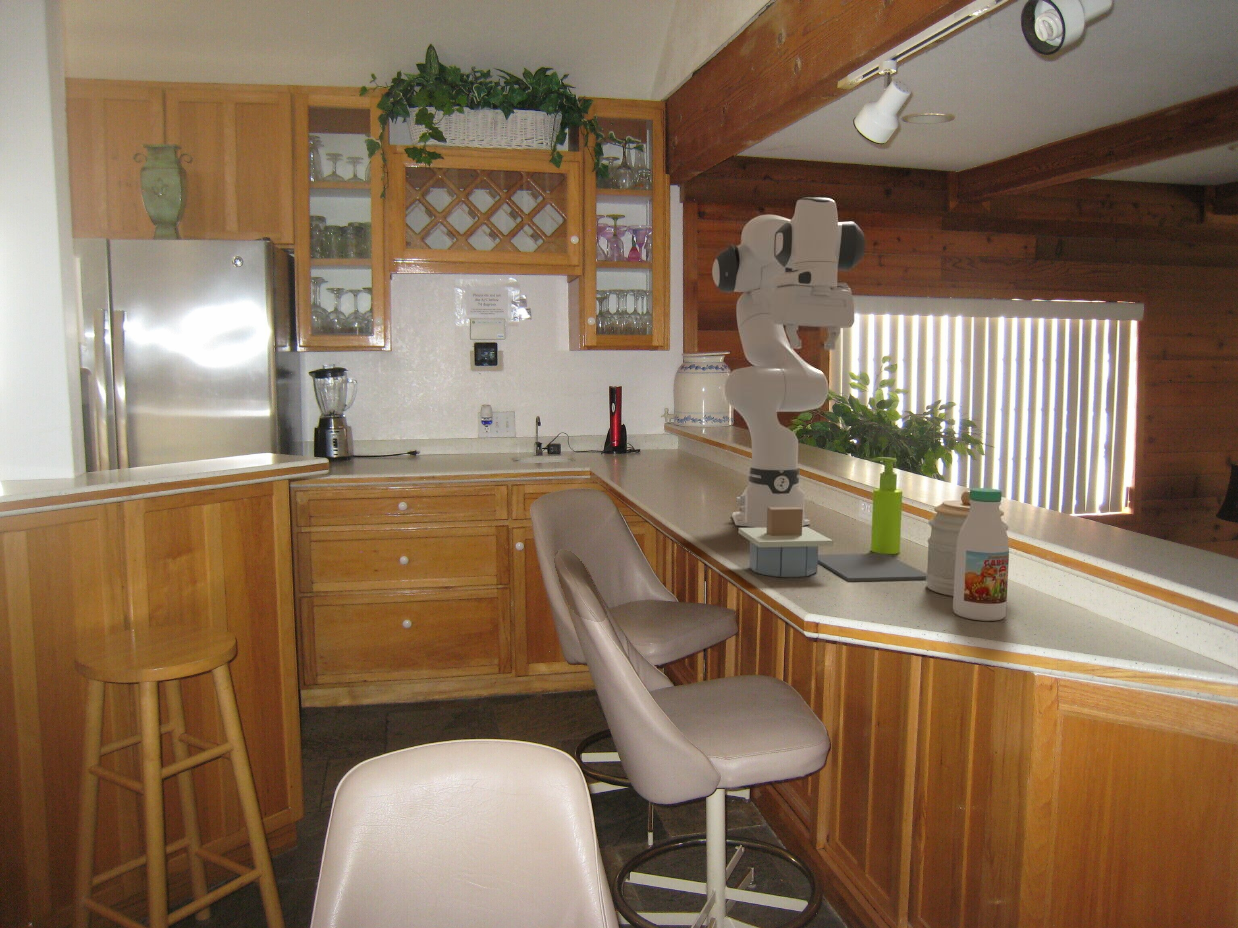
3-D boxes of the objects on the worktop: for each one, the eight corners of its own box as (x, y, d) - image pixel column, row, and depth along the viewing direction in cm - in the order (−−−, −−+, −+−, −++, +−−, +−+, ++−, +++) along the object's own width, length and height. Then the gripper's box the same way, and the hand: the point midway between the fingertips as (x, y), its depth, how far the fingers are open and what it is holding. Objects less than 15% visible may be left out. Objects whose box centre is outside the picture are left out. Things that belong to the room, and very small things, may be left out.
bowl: (744, 563, 171) (744, 533, 171) (802, 562, 173) (803, 532, 172) (761, 578, 159) (762, 546, 159) (824, 576, 161) (825, 544, 160)
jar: (1021, 594, 150) (1027, 493, 148) (971, 603, 143) (976, 498, 141) (958, 578, 161) (963, 484, 159) (909, 586, 154) (913, 488, 153)
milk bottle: (944, 614, 137) (950, 489, 134) (965, 605, 142) (971, 484, 140) (993, 625, 131) (1000, 494, 129) (1013, 615, 136) (1021, 489, 134)
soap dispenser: (872, 546, 189) (876, 455, 187) (904, 551, 185) (908, 457, 182) (861, 550, 184) (865, 457, 182) (893, 555, 180) (897, 459, 178)
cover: (738, 532, 171) (739, 502, 171) (806, 531, 173) (807, 502, 173) (759, 547, 158) (760, 514, 157) (832, 545, 160) (834, 513, 159)
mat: (809, 557, 177) (809, 554, 177) (884, 556, 179) (884, 553, 179) (848, 581, 158) (848, 578, 157) (931, 579, 160) (931, 576, 160)
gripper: (839, 284, 181) (837, 351, 182) (765, 277, 170) (764, 348, 171) (862, 281, 176) (860, 350, 177) (788, 274, 165) (786, 347, 166)
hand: (812, 349), depth 174 cm, fingers open, 8 cm apart
